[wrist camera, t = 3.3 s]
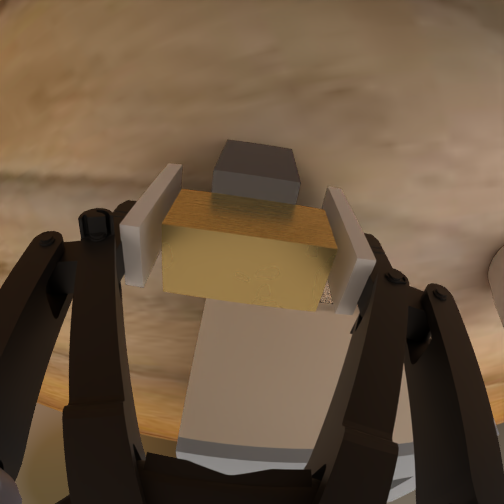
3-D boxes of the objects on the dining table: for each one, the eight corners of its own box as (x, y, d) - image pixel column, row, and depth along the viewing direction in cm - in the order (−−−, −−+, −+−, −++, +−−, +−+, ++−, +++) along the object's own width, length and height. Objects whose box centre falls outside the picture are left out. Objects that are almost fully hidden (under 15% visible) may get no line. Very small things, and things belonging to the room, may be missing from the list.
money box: (208, 288, 22) (175, 451, 12) (448, 314, 23) (499, 434, 13) (201, 399, 31) (186, 503, 21) (376, 409, 32) (391, 501, 22)
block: (227, 139, 17) (213, 169, 12) (291, 149, 17) (300, 182, 13) (218, 219, 19) (205, 269, 15) (275, 228, 20) (278, 280, 15)
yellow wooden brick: (181, 188, 13) (161, 224, 10) (324, 209, 13) (337, 249, 11) (179, 248, 15) (163, 291, 12) (308, 266, 15) (315, 312, 12)
